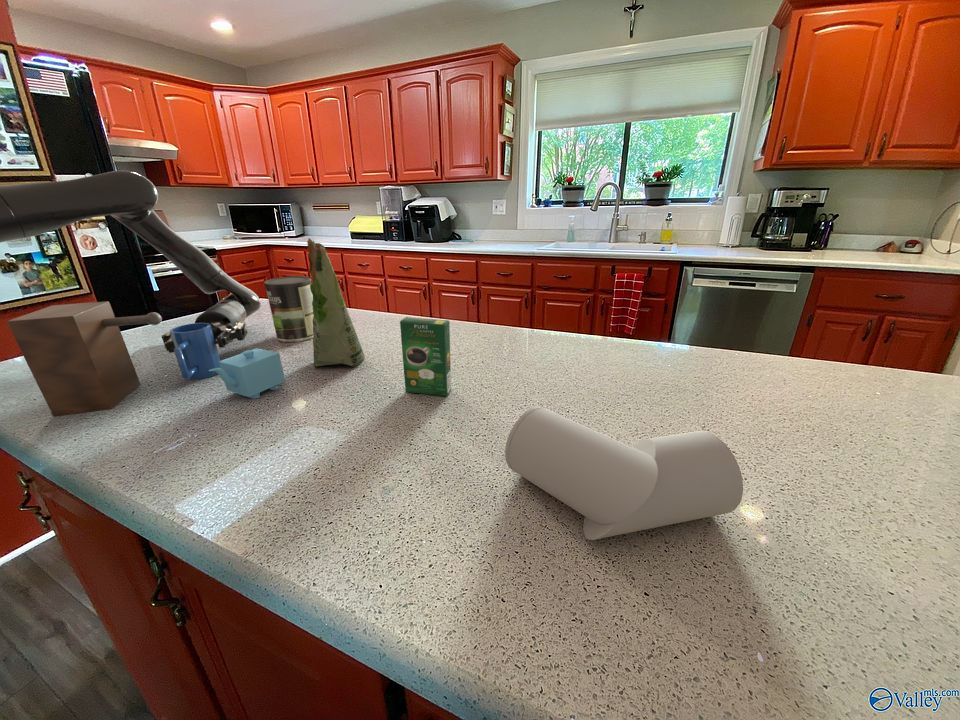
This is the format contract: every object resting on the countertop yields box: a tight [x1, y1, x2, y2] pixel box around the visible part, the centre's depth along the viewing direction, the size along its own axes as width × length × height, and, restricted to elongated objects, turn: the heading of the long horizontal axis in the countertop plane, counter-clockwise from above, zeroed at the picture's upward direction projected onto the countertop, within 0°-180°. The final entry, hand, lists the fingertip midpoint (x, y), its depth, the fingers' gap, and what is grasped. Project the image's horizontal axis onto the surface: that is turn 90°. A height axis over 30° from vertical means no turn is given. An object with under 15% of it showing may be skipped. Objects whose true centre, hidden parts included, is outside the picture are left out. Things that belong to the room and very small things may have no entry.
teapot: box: [209, 347, 286, 400], centre depth 69 cm, size 12×6×8 cm, turn 153°
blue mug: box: [169, 322, 222, 381], centre depth 75 cm, size 11×6×10 cm, turn 17°
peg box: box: [6, 300, 163, 417], centre depth 67 cm, size 16×10×16 cm, turn 107°
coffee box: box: [399, 316, 452, 397], centre depth 67 cm, size 8×3×13 cm, turn 76°
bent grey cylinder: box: [504, 406, 744, 541], centre depth 43 cm, size 18×10×20 cm
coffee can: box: [263, 275, 314, 343], centre depth 97 cm, size 10×10×14 cm
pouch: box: [306, 237, 366, 368], centre depth 78 cm, size 11×12×25 cm
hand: (195, 345), depth 77 cm, fingers open, 8 cm apart
